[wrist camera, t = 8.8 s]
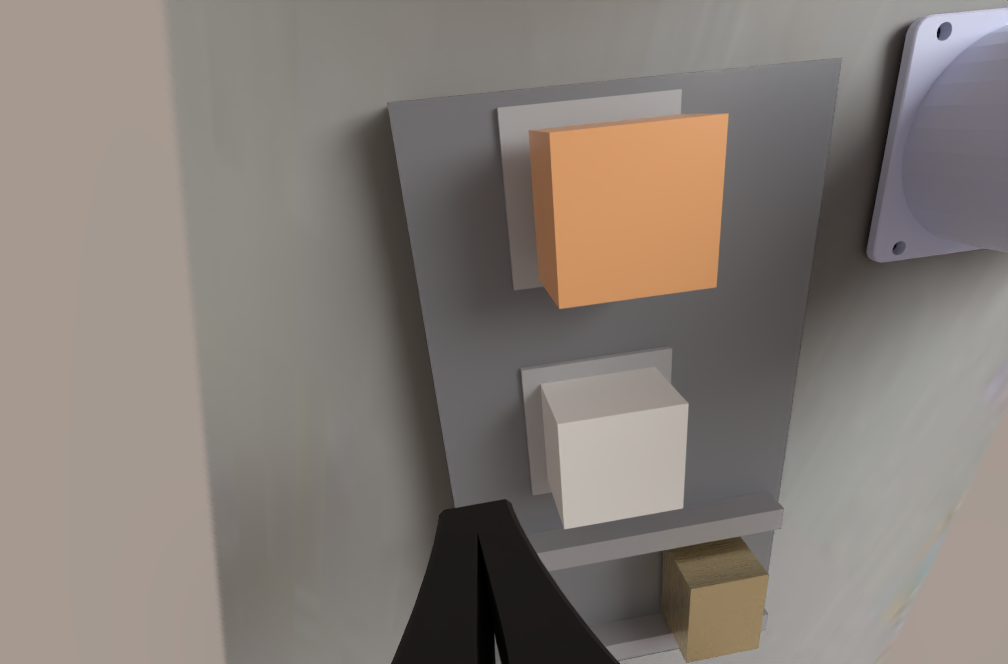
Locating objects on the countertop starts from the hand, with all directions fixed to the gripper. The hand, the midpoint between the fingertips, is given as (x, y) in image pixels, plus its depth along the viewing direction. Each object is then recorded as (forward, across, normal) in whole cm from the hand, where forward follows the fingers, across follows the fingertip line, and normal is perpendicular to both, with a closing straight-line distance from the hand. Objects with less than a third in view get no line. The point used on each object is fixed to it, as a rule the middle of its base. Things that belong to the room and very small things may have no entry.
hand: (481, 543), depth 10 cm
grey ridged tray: (+9, -6, +4) cm, 12 cm away
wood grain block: (+7, -9, +11) cm, 16 cm away
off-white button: (+7, -5, +3) cm, 9 cm away
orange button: (+6, -5, -5) cm, 9 cm away
